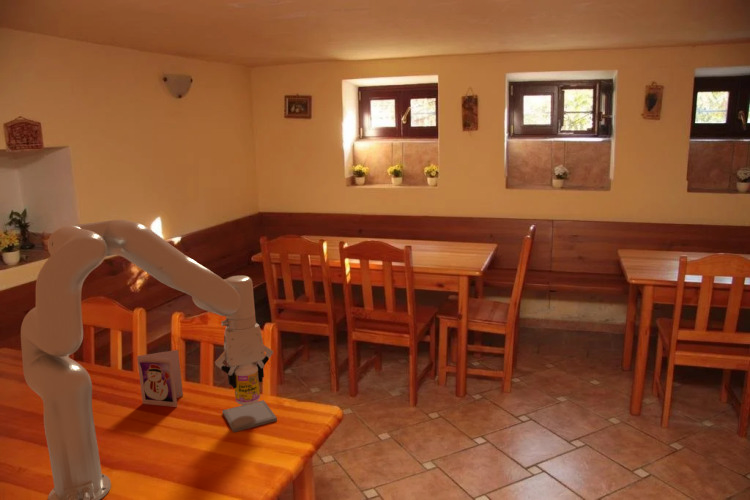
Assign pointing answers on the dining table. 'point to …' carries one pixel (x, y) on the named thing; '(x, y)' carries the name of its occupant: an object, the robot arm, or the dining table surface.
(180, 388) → the greeting card
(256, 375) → the supplement bottle
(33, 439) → the dining table surface
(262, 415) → the slate trivet
